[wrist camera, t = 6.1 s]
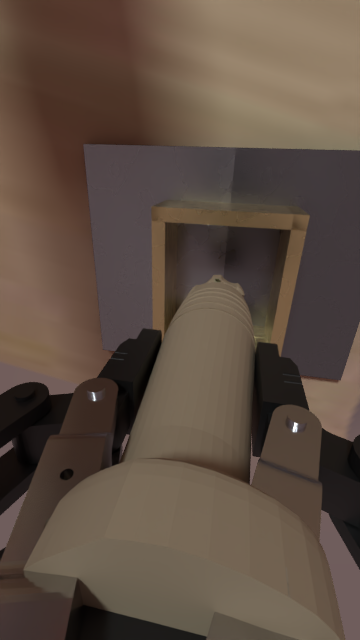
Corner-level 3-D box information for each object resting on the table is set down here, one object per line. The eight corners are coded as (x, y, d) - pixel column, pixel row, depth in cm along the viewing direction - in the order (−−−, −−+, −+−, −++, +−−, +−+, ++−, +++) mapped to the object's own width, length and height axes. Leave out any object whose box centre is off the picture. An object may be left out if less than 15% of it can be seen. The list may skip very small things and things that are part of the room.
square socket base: (88, 144, 21) (50, 139, 17) (407, 152, 18) (456, 148, 14) (106, 345, 28) (82, 376, 24) (337, 374, 25) (356, 415, 21)
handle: (285, 270, 17) (440, 663, 4) (228, 357, 20) (197, 744, 7) (204, 230, 17) (52, 485, 3) (160, 324, 20) (-13, 651, 6)
